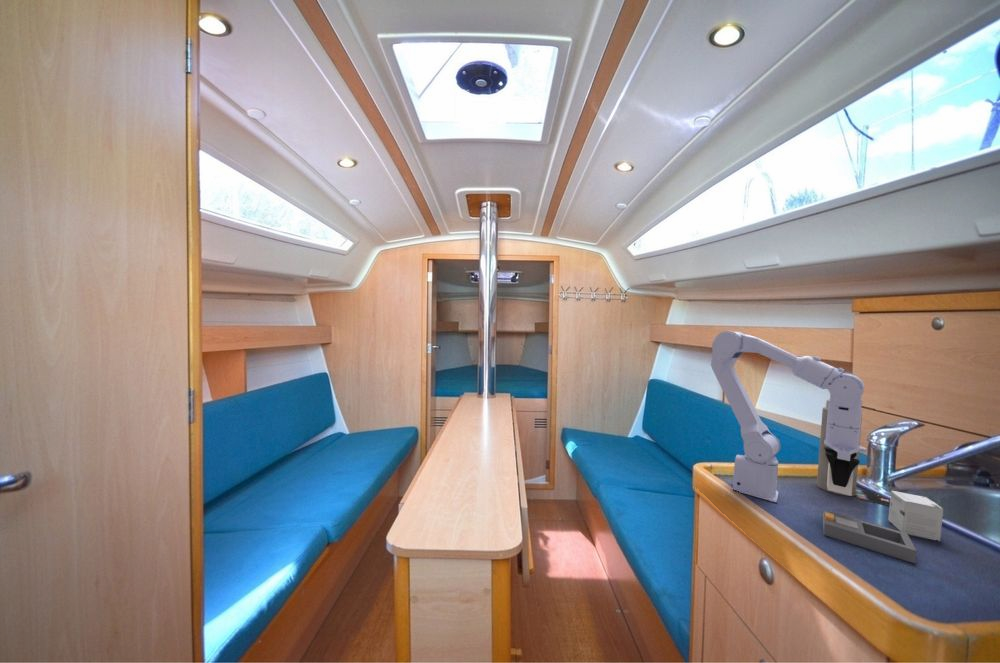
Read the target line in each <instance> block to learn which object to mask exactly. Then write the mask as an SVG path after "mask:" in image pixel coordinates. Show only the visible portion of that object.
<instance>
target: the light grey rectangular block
mask: <svg viewBox="0 0 1000 663" xmlns="http://www.w3.org/2000/svg"><path fill="white" fill-rule="evenodd" d="M853 471H854V470H853ZM853 471H852V473H851V475H850V478H849V481H848V484H847V486H846V487H842V486H837V485H834V484H833V481H832V474H831V467H830V463H829V464H828V476H827V489H828V490H830V491H834V492H838V493H842V494H846V495H849V496H848V497H853V496H852V483H853Z"/></svg>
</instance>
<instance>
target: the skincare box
mask: <svg viewBox="0 0 1000 663" xmlns="http://www.w3.org/2000/svg"><path fill="white" fill-rule="evenodd" d="M890 496H891V498H890V507H889V506H888V507H889V509H888V521H889V522H890V523H891V524H892V525H893V526H894V527H895V528H896V529H898V531H901V532H904V533H907V534H908V536H909V535H910V536H912V537H913V536H914V537H920V538H923V539H929V540H933V541H936V540H938V541H937V542H941V535H942V525H943V519H944V508H943V507H942V506H940V505H939V504H938V503H937V502H935V501H932V499H929V498H928V497H927V496H923V495H916V494H911V493H906V492H901V491H895V490H891V491H890ZM942 518H943V519H942Z"/></svg>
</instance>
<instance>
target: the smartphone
mask: <svg viewBox="0 0 1000 663" xmlns="http://www.w3.org/2000/svg"><path fill="white" fill-rule="evenodd" d="M872 492H873V491H868V490H863V489H859V488H856V494H855V495H854V497H855V498H856V500H858V499H859V501H862V502H867V503H871V504H876V503H877V505H881V506H886V507H890V500H889V499H886V498H884V497H881V496H879V495H876V494H874V493H875V492H874V493H872Z"/></svg>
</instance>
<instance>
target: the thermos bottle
mask: <svg viewBox="0 0 1000 663" xmlns="http://www.w3.org/2000/svg"><path fill="white" fill-rule="evenodd" d="M829 403H830V398H828V399H826V403H825V406H823V407H822V412H821V413H822V414H821V425H820V428H821V429H820V438H819V439H820V440H819V452H818V462H817V463H818V466H817V476H816V478H817V479H816V486H818V488H820V489H822V490H824V491H827V492H830V493H833V494H837V495H840V496H846V497H847V496H848V497H850V496H849V495H846V494H842V493H838V492H834V491H830V490H828V489H827V476H828V464H829V461H828V459H827V457H826V455H825V452H826V451H825V449H824V447H828V446H827V445H825V444H824V440H825V439H826V427H827V415H828V404H829ZM862 420H863V416H862V417H861V423H863V422H862ZM861 433H862V428H861V429H860V435H861ZM859 446H861V440H860V441H859ZM856 453H857V455H856V456H855V458H854V459H858V460H859V457H860V456H859V455H860V454H859V453H860V451H859V452H856ZM858 472H859V464H858V465H857V466H856V467H855V468H854V471H853V483H852V496H851V497H855V494H856V489H857V483H858V482H857V481H858Z"/></svg>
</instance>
